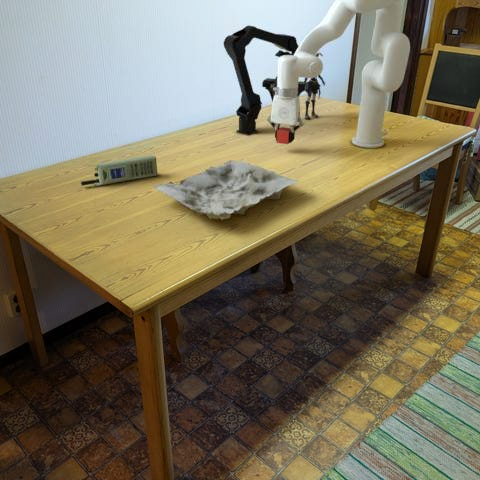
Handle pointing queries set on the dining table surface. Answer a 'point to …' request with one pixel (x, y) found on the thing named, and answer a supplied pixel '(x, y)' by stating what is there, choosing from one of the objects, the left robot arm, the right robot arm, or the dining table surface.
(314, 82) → the figurine
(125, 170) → the handheld radio
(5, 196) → the dining table surface
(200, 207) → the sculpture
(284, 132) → the block
